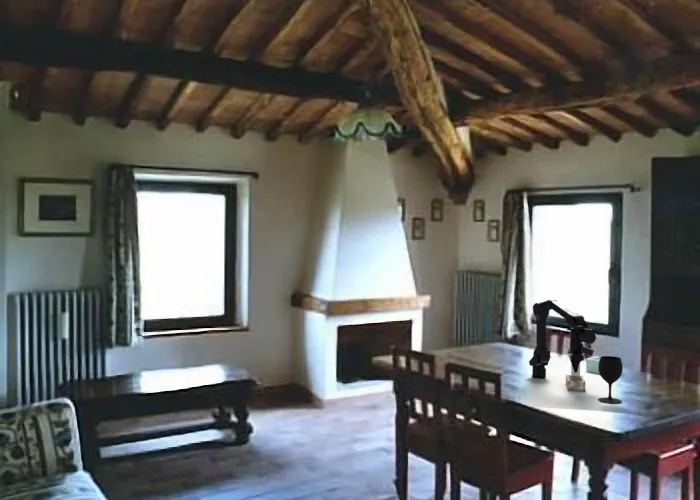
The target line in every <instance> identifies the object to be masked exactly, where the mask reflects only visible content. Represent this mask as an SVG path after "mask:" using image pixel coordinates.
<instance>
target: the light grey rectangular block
mask: <svg viewBox="0 0 700 500" xmlns="http://www.w3.org/2000/svg"><path fill="white" fill-rule="evenodd" d="M570 375H572V376H581V362H580V363H579V367H578V370H577V373H575V372H574V369H573V366H572V364H571V363H570Z"/></svg>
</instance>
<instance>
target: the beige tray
mask: <svg viewBox="0 0 700 500" xmlns="http://www.w3.org/2000/svg"><path fill="white" fill-rule="evenodd" d="M565 385H566V388H567V390H568V391H576V392H577V391H578V392H586V380H585V378H584V376H583V375H580V376H572V375H571V374H565Z"/></svg>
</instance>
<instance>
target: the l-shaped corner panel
mask: <svg viewBox="0 0 700 500" xmlns="http://www.w3.org/2000/svg"><path fill="white" fill-rule="evenodd" d="M599 360H600V356H598V355H597V356H591V357H589V358H586V361H585V363H586V366H585V367H586V368H585V371H586V372H589V373H596V374H599V370H598V365H599Z"/></svg>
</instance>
